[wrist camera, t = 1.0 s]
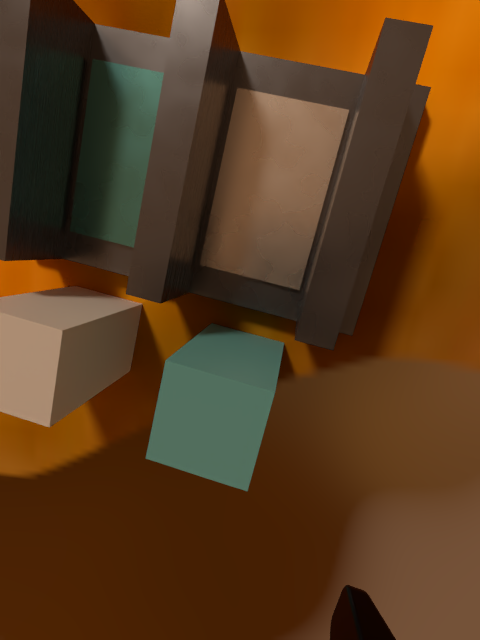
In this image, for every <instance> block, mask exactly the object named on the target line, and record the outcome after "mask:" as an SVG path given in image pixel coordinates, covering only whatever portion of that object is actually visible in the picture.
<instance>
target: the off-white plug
mask: <svg viewBox="0 0 480 640" xmlns="http://www.w3.org/2000/svg"><path fill="white" fill-rule="evenodd" d="M141 309H142V304H140V303H137V302H133V301H130V300H126V299H122V298H119V297H115V296H111V295H108V294H104V293H100V292H97V291H93V290H89V289H86V288H82V287H79V286H71V287H65V288H58V289H52V290H45V291H39V292H32V293H26V294H19V295H13V296H6V297H0V412H4V413H7V414H10V415H13V416H16V417H19V418H22V419H25V420H28V421H31V422H34V423H37V424H41V425H44V426H47V427H51V426H52V425H53V424H55V423H56V422H58V421H59V420H61V419H62V418H63V417H65V416H66V415H68V414H69V413H71V412H72V411H74V410H75V409H76V408H78V407H79V406H81V405H82V404H84V403H85V402H86V401H88V400H89V399H91V398H92V397H94V396H95V395H96V394H98V393H99V392H101V391H102V390H104V389H105V388H107V387H108V386H109V385H111V384H112V383H114V382H115V381H117V380H118V379H119V378H121V377H122V376H124V375H125V374H127V373H128V372H129V371H130V369H131V363H132V358H133V353H134V347H135V342H136V336H137V331H138V325H139V320H140V315H141Z"/></svg>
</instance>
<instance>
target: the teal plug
mask: <svg viewBox="0 0 480 640" xmlns="http://www.w3.org/2000/svg"><path fill="white" fill-rule="evenodd" d="M283 347H284V343H282V342H279V341H275V340H271V339H268V338H264V337H261V336H257V335H253V334H250V333H246V332H242V331H239V330H235V329H231V328H228V327H224V326H221V325H217V324H213V323H211V324H210V325H209V326H208V327H206V328H205V329H204V330H203V331H201V332H200V333H199V334H198V335H196V336H195V337H194V338H193V339H191V340H190V341H189V342H188V343H187V344H185V345H184V346H183V347H182V348H180V349H179V350H178V351H177V352H175V353H174V354H173V355H172V356H170V357H169V358H168V359H167V360H166V361H165V366H164V371H163V376H162V380H161V385H160V390H159V395H158V400H157V405H156V410H155V415H154V419H153V424H152V429H151V434H150V439H149V444H148V449H147V454H146V459H149V460H152V461H155V462H158V463H161V464H164V465H167V466H170V467H173V468H176V469H179V470H183V471H186V472H189V473H192V474H195V475H198V476H201V477H204V478H208V479H211V480H214V481H217V482H220V483H223V484H226V485H229V486H232V487H235V488H238V489H242V490H244V491H248V488H249V484H250V481H251V477H252V473H253V470H254V466H255V463H256V459H257V455H258V452H259V448H260V445H261V441H262V438H263V434H264V430H265V427H266V423H267V420H268V416H269V412H270V409H271V405H272V402H273V398H274V395H275V390H276V385H277V380H278V374H279V369H280V363H281V358H282V353H283Z"/></svg>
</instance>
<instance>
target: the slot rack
mask: <svg viewBox="0 0 480 640" xmlns="http://www.w3.org/2000/svg"><path fill="white" fill-rule="evenodd" d="M432 28H433V26H432V25H426V24H420V23H414V22H408V21H402V20H397V19H391V18H385V21H384V23H383V26H382V29H381V32H380V35H379V37H378V40H377V43H376V46H375V48H374V51H373V54H372V57H371V60H370V62H369V65H368V68H367V71H366V74H365V75H363V74H358V73H352V72H347V71H342V70H336V69H331V68H326V67H320V66H315V65H310V64H304V63H299V62H294V61H288V60H283V59H278V58H273V57H267V56H262V55H257V54H251V53H246V52H241V51H240V48H239V45H238V42H237V38H236V35H235V32H234V29H233V25H232V22H231V19H230V16H229V12H228V9H227V6H226V3H225V0H176V6H175V12H174V17H173V23H172V29H171V35H170V38H166V37H161V36H156V35H150V34H145V33H140V32H134V31H129V30H124V29H118V28H113V27H108V26H102V25H97V24H94V23H93V21H92V20H91V19H90V18H89V17H88V16H87V15H86V14H85V13H84V12H83V11H82V9H81V8H80V7H79V6H78V5H77V4H76V3H75V2H74V1H73V0H0V260H4V261H15V260H44V259H67V260H70V261H74V262H78V263H81V264H85V265H89V266H93V267H96V268H100V269H104V270H108V271H111V272H115V273H119V274H123V275H126V276H129V278H128V284H127V290H126V294H128V295H132V296H135V297H139V298H143V299H146V300H150V301H154V302H157V303H163V302H165V301H168V300H171V299H173V298H176V297H179V296H181V295H184V294H187V293H189V292H190V293H194V294H198V295H201V296H205V297H209V298H213V299H216V300H220V301H224V302H228V303H231V304H235V305H239V306H243V307H246V308H250V309H254V310H258V311H261V312H265V313H269V314H272V315H276V316H280V317H284V318H287V319H291V320H295V321H296V330H295V340H297V341H300V342H304V343H308V344H311V345H315V346H319V347H322V348H326V349H330V350H334V347H335V343H336V340H337V337H338V334H339V332H340V333H344V334H347V335H351V336H352V335H353V332H354V328H355V325H356V322H357V319H358V316H359V313H360V309H361V306H362V303H363V300H364V297H365V294H366V291H367V287H368V284H369V281H370V278H371V275H372V272H373V268H374V265H375V262H376V259H377V256H378V253H379V250H380V246H381V243H382V240H383V237H384V234H385V231H386V227H387V224H388V221H389V218H390V215H391V212H392V208H393V205H394V202H395V199H396V196H397V193H398V190H399V186H400V183H401V180H402V177H403V174H404V171H405V167H406V164H407V161H408V158H409V155H410V152H411V149H412V145H413V142H414V139H415V136H416V133H417V130H418V126H419V123H420V120H421V117H422V114H423V111H424V108H425V104H426V101H427V98H428V95H429V92H430V89H431V87H427V86H421V85H416V80H417V77H418V74H419V71H420V67H421V64H422V61H423V58H424V54H425V51H426V48H427V45H428V41H429V38H430V35H431V32H432Z"/></svg>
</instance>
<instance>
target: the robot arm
mask: <svg viewBox="0 0 480 640" xmlns="http://www.w3.org/2000/svg"><path fill="white" fill-rule="evenodd" d="M330 640H396V639H395V637H394V636H393V634H392V633H391V631H390V629H389V628H388V626H387V624H386V623H385V621H384V619H383V618H382V616H381V615H380V613H379V611H378V610H377V608H376V606H375V605H374V603H373V602H372V600H371V598H370V597H369V595H368V594H367V593H366V592H365V591H364V590H361V589H358V588H355V587H352V586H350V585H346V586H345V587H344V588H343V590H342V592H341V595H340V598H339V600H338V603H337V605H336V608H335V610H334V613H333V616H332V620H331V629H330Z"/></svg>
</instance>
